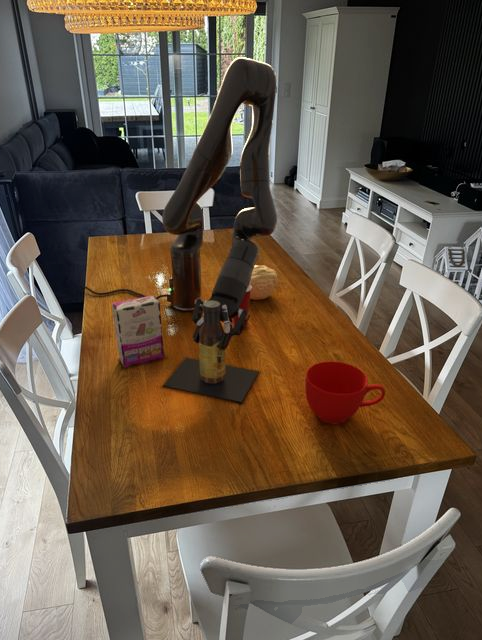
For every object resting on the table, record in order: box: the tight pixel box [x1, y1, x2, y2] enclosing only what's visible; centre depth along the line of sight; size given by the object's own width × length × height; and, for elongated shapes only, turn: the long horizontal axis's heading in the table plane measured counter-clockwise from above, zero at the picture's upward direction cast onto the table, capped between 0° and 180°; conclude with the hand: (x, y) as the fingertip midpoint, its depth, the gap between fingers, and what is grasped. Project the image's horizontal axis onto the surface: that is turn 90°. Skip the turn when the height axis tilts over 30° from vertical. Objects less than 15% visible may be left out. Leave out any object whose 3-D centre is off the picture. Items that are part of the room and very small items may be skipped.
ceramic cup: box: [304, 360, 386, 425], centre depth 106 cm, size 13×17×10 cm
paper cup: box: [233, 283, 252, 332], centre depth 142 cm, size 8×8×14 cm
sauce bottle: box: [198, 300, 226, 384], centre depth 115 cm, size 6×6×20 cm
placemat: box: [162, 357, 260, 404], centre depth 120 cm, size 20×14×1 cm
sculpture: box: [250, 264, 278, 301], centre depth 162 cm, size 12×12×11 cm
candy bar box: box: [111, 294, 165, 368], centre depth 125 cm, size 11×5×16 cm, turn 117°
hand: (208, 345), depth 114 cm, fingers closed on sauce bottle, 6 cm apart
